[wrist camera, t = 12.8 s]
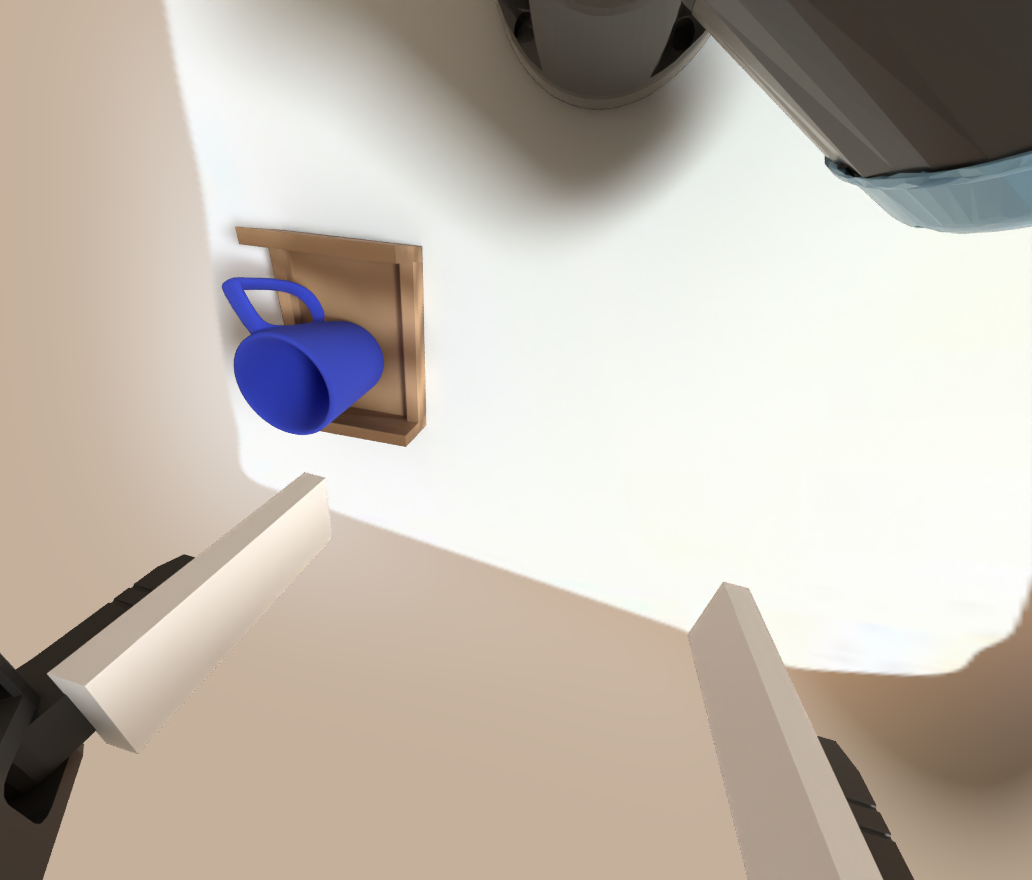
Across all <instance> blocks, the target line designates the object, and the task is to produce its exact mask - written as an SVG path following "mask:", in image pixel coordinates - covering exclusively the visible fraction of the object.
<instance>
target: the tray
mask: <svg viewBox="0 0 1032 880" xmlns="http://www.w3.org/2000/svg"><path fill="white" fill-rule="evenodd" d="M235 228H236V232H237V237H238V241H239V244H243V245H251V246H259V247H267V248H269V251H270V256H271V261H272V266H273V271H274V276H275V279H280V280H286V281H291V282H294V283H297V284H300V285H302V286H304V287H306V288H307V289H308V290H310V291H311V292H312V293H313V294H314V295H315V296H316V298H317V299H318V300H319V302H320V304H321V306H322V308H323V310H324V314H325V317H324V321H346V322H351V323H354V324H357V325H359V326H361V327H363V328H364V329H366V330H367V331H368V332H369V333H370V334H371V335H372V336H373V337H374V338H375V339H376V341H377V342H378V344H379V346H380V348H381V350H382V353H383V358H384V369H383V373H382V376H381V378H380V379H379V381H378V382H377V384H376V385H375V386H374V387H373V388H372V389H370V390H369V391H368V392H367V393H366V394H364V395H363V396H362V397H361V398H360V399H358V400H357V401H356V402H355V403H354V404H352V405H351V406H350V407H349V408H348V409H346V410H345V411H344V412H343V413H342V414H340V415H339V416H338V417H337V418H336V419H334V420H333V421H332V422H331V423H330V424H328V425H327V426H326V427H325V428H323V429H322V430H320V431H322V432H328V433H333V434H339V435H344V436H350V437H355V438H361V439H366V440H372V441H377V442H382V443H388V444H393V445H399V446H404V447H406V446H407V445H408V444H409V443H410V442H411V441H412V440H413V439H414V438H415V437H416V436H417V434H418V433H419V432H420V431H421V430H422V429H423V428H424V427H425V426H426V397H425V352H424V307H423V262H422V246H414V245H406V244H397V243H389V242H380V241H372V240H363V239H355V238H346V237H338V236H329V235H321V234H312V233H304V232H295V231H287V230H275V229H260V228H245V227H235ZM278 296H279V301H280V306H281V311H282V316H283V321H284V325H297V324H305V323H311V322H313V317H312V315H311V312H310V310H309V309H308V307H307V306H306V305H305V303H304V302H303V301H302V300H300V299H299V298H298V297H296V296H294V295H292V294H289V293H286V292H282V291H278Z"/></svg>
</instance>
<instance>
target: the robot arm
mask: <svg viewBox="0 0 1032 880" xmlns="http://www.w3.org/2000/svg"><path fill="white" fill-rule="evenodd" d="M496 3H497V7H498V10H499V13H500V16H501V19H502V21H503V24H504V27H505V29H506V32H507V35H508V37H509V40H510V42H511V44H512V46H513V49H514V51H515V52H516V54H517V56H518V58H519V60H520V61H521V63H522V65H523V66H524V67H525V69H526V70H527V72H528V73H529V74H530V75H531V76H532V78H533V79H534V80H535V81H536V82H537V83H538V84H539V85H540V86H541V87H542V88H543V89H545V90H546V91H547V92H548V93H550V94H551V95H553V96H554V97H556V98H558V99H560V100H561V101H564V102H566V103H568V104H571V105H574V106H577V107H582V108H588V109H609V108H615V107H619V106H623V105H627V104H630V103H632V102H635V101H637V100H639V99H642V98H644V97H646V96H647V95H649V94H651V93H653V92H654V91H656V90H657V89H659V88H660V87H662V86H663V85H664V84H666V83H667V82H668V81H670V80H671V79H672V78H673V77H674V76H675V75H677V74H678V73H679V72H680V71H681V70H682V69H683V68H684V67H685V66H686V65H687V64H688V63H689V62H690V61H691V59H692V58H693V57H694V56H695V55H696V54H697V52H698V51H699V50H700V49H701V47H702V46H703V45H704V43H705V42H706V41H707V39H708V38H709V36H710V35H712V36H713V38H714V39H715V40H716V41H717V42H718V43H719V44H720V45H721V46H722V47H723V48H724V49H725V50H726V51H727V52H728V53H729V54H730V55H731V57H732V58H733V59H734V60H735V61H736V62H737V63H738V64H739V65H740V66H741V67H742V68H743V69H744V70H745V71H746V72H747V73H748V74H749V76H750V77H751V78H752V79H753V80H754V81H755V82H756V83H757V84H758V85H759V86H760V87H761V88H762V89H763V90H764V91H765V92H766V93H767V95H768V96H769V97H770V98H771V99H772V100H773V101H774V102H775V103H776V104H777V105H778V106H779V107H780V108H781V109H782V110H783V111H784V112H785V114H786V115H787V116H788V117H789V118H790V119H791V120H792V121H793V122H794V123H795V124H796V125H797V126H798V127H799V128H800V129H801V130H802V131H803V133H804V134H805V135H806V136H807V137H808V138H809V139H810V140H811V141H812V142H813V143H814V144H815V145H816V146H817V147H818V148H819V149H820V150H821V152H822V153H823V154H824V155H825V165H826V166H827V167H828V168H829V169H830V171H831V172H832V173H833V174H834V175H835V176H837V177H838V178H839V179H841V180H842V181H845V182H848V183H851V184H854V185H857V186H859V187H860V188H861V189H862V190H863V191H864V192H865V193H866V194H867V195H869V196H870V197H871V198H872V199H873V200H874V201H875V202H876V203H877V204H878V205H879V206H881V207H882V208H883V209H884V210H885V211H886V212H887V213H888V214H889V215H891V216H892V217H893V218H895V219H896V220H898V221H900V222H902V223H904V224H906V225H909V226H911V227H916V228H928V229H932V230H936V231H939V232H950V233H957V234H967V233H983V232H997V231H1005V230H1013V229H1019V228H1025V227H1031V226H1032V0H496ZM331 539H332V530H331V521H330V512H329V503H328V494H327V485H326V478H324V477H320V476H317V475H313V474H309V473H305V472H304V473H303V474H302V475H301V476H299V477H298V478H297V479H296V480H294V481H293V482H292V483H290V484H289V485H288V486H287V487H285V488H284V489H283V490H281V491H280V492H279V493H278V494H276V495H275V496H274V497H272V498H271V499H270V500H269V501H267V502H266V503H265V504H264V505H262V506H261V507H260V508H259V509H257V510H256V511H255V512H253V513H252V514H251V515H249V516H248V517H247V518H246V519H244V520H243V521H242V522H241V523H239V524H238V525H237V526H235V527H234V528H233V529H232V530H230V531H229V532H228V533H226V534H225V535H224V536H223V537H221V538H220V539H219V540H218V541H216V542H215V543H214V544H212V545H211V546H210V547H209V548H207V549H206V550H205V551H203V552H202V553H201V554H199V555H198V556H197V557H196V558H195V557H192V556H188V555H182V556H180V557H178V558H175V559H173V560H171V561H169V562H167V563H165V564H163V565H161V566H158V567H157V568H155V569H154V570H153V571H151V572H150V573H149V574H147V575H146V576H144V577H143V578H142V579H140V580H139V581H138V582H136V583H135V584H134V586H133V587H132V588H128V589H127V590H125V591H124V592H123V593H121V594H120V595H118V596H117V597H116V598H114V601H113V602H112V603H108V604H106V605H105V606H103V607H102V608H101V609H99V610H98V611H97V612H95V613H94V614H93V615H91V616H90V617H89V618H87V619H86V620H84V621H83V622H82V623H80V624H79V625H78V626H76V627H75V628H73V629H72V630H71V631H69V632H68V633H67V634H65V635H64V636H63V637H61V638H60V639H58V640H57V641H56V642H54V643H53V644H52V645H50V646H49V647H48V648H46V649H45V650H44V651H42V652H41V653H39V654H38V655H37V656H35V657H34V658H33V659H31V660H30V661H28V662H27V663H25V664H24V665H22V666H20V667H19V668H17V669H16V670H15V669H14V668H13V666H12V665H11V664H10V663H9V662H8V661H7V660H6V659H5V658H4V657H3V656H2V655H1V654H0V880H43V877H44V873H45V871H46V867H47V864H48V861H49V858H50V855H51V852H52V849H53V846H54V843H55V840H56V837H57V834H58V831H59V828H60V824H61V821H62V818H63V815H64V812H65V809H66V806H67V803H68V800H69V797H70V794H71V791H72V788H73V784H74V781H75V778H76V775H77V772H78V769H79V766H80V762H81V760H82V757H83V746H84V744H83V743H84V742H85V740H87V739H88V738H89V737H90V736H91V735H92V734H93V733H94V732H95V731H96V732H97V733H98V734H99V735H100V736H101V737H102V738H103V740H104V741H105V742H106V743H107V744H110V745H113V746H116V747H119V748H122V749H125V750H128V751H131V752H134V753H136V754H139V753H140V752H141V750H142V749H143V748H144V747H145V746H146V745H147V744H148V742H150V740H151V739H152V738H153V737H154V736H155V735H156V733H158V732H159V730H160V729H161V728H162V727H163V726H164V725H165V724H166V723H167V721H168V720H169V719H170V718H171V717H172V716H173V715H174V714H175V713H176V711H177V710H178V709H179V708H180V707H181V706H182V705H183V704H184V703H185V701H186V700H187V699H188V698H189V697H190V696H191V695H192V694H193V692H194V691H195V690H196V689H197V688H198V687H199V686H200V685H201V684H202V682H203V681H204V680H205V679H206V678H207V677H208V676H209V674H210V673H211V672H212V671H213V670H214V669H215V668H216V667H217V666H218V664H219V663H220V662H221V661H222V660H223V659H224V658H225V657H226V656H227V655H228V653H229V652H230V651H231V650H232V649H233V648H234V647H235V646H236V645H237V643H238V642H239V641H240V640H241V639H242V638H243V637H244V636H245V634H246V633H247V632H248V631H249V630H250V629H251V628H252V627H253V626H254V624H255V623H256V622H257V621H258V620H259V619H260V618H261V617H262V615H263V614H264V613H265V612H266V611H267V610H268V609H269V608H270V607H271V605H272V604H273V603H274V602H275V601H276V600H277V599H278V598H279V597H280V595H281V594H282V593H283V592H284V591H285V590H286V589H287V587H289V585H290V584H291V583H292V582H293V581H294V580H295V579H296V577H297V576H298V575H299V574H300V573H301V572H302V571H303V570H304V569H305V568H306V566H307V565H308V564H309V563H310V562H311V561H312V560H313V558H315V556H316V555H317V554H318V553H319V552H320V551H321V550H322V549H323V547H324V546H325V545H326V544H327V543H328V542H329V541H330V540H331ZM687 636H688V639H689V643H690V648H691V652H692V655H693V660H694V664H695V668H696V672H697V676H698V680H699V684H700V688H701V692H702V696H703V700H704V704H705V708H706V712H707V716H708V720H709V724H710V729H711V733H712V737H713V741H714V745H715V749H716V753H717V756H718V761H719V765H720V769H721V773H722V777H723V781H724V785H725V789H726V793H727V797H728V801H729V805H730V809H731V813H732V817H733V822H734V825H735V830H736V834H737V837H738V842H739V846H740V850H741V854H742V858H743V862H744V866H745V870H746V874H747V878H748V880H914V879H913V876H912V875H911V873H910V871H909V869H908V867H907V865H906V863H905V861H904V859H903V857H902V855H901V853H900V851H899V849H898V847H897V845H896V843H895V842H893V841H892V840H891V837H890V835H891V833H890V831H889V829H888V827H887V826H886V824H885V822H884V820H883V818H882V816H881V814H880V812H877V810H876V804H875V802H874V800H873V798H872V796H871V794H870V792H869V790H868V788H867V786H866V784H865V783H864V780H863V779H862V777H861V775H860V773H859V771H858V770H857V769H856V767H855V766H854V765H853V764H852V762H851V761H850V759H849V758H848V757H847V755H846V754H845V753H844V752H843V750H842V749H841V748H840V747H839V745H838V744H837V743H836V741H833V740H830V739H826V738H823V737H819V736H817V735H816V733H815V731H814V729H813V727H812V724H811V722H810V720H809V718H808V716H807V714H806V711H805V709H804V707H803V705H802V703H801V701H800V698H799V696H798V694H797V692H796V690H795V688H794V685H793V683H792V681H791V679H790V677H789V675H788V673H787V670H786V668H785V666H784V664H783V662H782V659H781V657H780V655H779V653H778V651H777V649H776V646H775V644H774V642H773V640H772V638H771V636H770V633H769V631H768V629H767V627H766V625H765V623H764V620H763V618H762V616H761V614H760V612H759V610H758V607H757V605H756V603H755V601H754V599H753V597H752V594H751V592H750V590H749V588H745V587H741V586H738V585H734V584H730V583H726V582H723V583H722V584H721V586H720V587H719V589H718V590H717V592H716V593H715V595H714V596H713V598H712V599H711V601H710V602H709V604H708V605H707V607H706V608H705V610H704V611H703V613H702V614H701V616H700V617H699V619H698V620H697V622H696V623H695V625H694V626H693V628H692V629H691V631H690V632H689V634H688V635H687Z"/></svg>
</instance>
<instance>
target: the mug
mask: <svg viewBox="0 0 1032 880" xmlns="http://www.w3.org/2000/svg"><path fill="white" fill-rule="evenodd" d="M222 289H223V292H224V294H225V296H226V297H227V299H228V301H229V303H230V304H231V306H232V308H233V309H234V311H235V312H236V314H237V315H238V317H239V319H240V320H241V322H242V323H243V324H244V326H245V327H246V328H247V329H248V331H249V332H250V334H251V335H250V336H248V337H247V338H245V339H244V340H243V341H242V342H241V343H240V345H239V346H238V348H237V350H236V353H235V357H234V373H235V377H236V381H237V384H238V386H239V389H240V391H241V393H242V395H243V396H244V398H245V400H246V401H247V402H248V404H249V405H250V406H251V408H252V409H253V410H254V411H255V412H256V413H257V414H258V415H259V416H260V417H261V418H262V419H264V420H265V421H266V422H268V423H269V424H271V425H272V426H274V427H276V428H278V429H280V430H282V431H285V432H288V433H292V434H297V435H308V434H313V433H316V432H318V431H320V430H322V429H323V428H325V427H326V426H327V425H328V424H330V423H331V422H332V421H333V420H334V419H336V418H337V417H338V416H339V415H340V414H342V413H343V412H344V411H345V410H346V409H348V408H349V407H350V406H351V405H352V404H354V403H355V402H356V401H357V400H358V399H360V398H361V397H362V396H363V395H364V394H366V393H367V392H368V391H369V390H370V389H372V388H373V387H374V386H375V385H376V384H377V382H378V381H379V379H380V378H381V376H382V373H383V369H384V358H383V353H382V350H381V348H380V346H379V344H378V342H377V341H376V339H375V338H374V337H373V336H372V335H371V334H370V333H369V332H368V331H367V330H366V329H364V328H363V327H361V326H359V325H357V324H354V323H351V322H346V321H324V317H325V314H324V310H323V308H322V306H321V304H320V302H319V300H318V299H317V298H316V296H315V295H314V294H313V293H312V292H311V291H310V290H308V289H307V288H306V287H304V286H302V285H300V284H297V283H294V282H291V281H286V280H280V279H271V278H244V277H237V278H231V279H228V280H227V281H225V282H224V283H223V285H222ZM244 290H275V291H282V292H286V293H289V294H292V295H294V296H296V297H298V298H299V299H300V300H302V301H303V302H304V303H305V305H306V306H307V307H308V309H309V310H310V312H311V315H312V317H313V322H311V323H305V324H297V325H272V324H269V323H267V322H265V321H264V320H263V319H262V318H261V317H260V316H259V315H258V313H257V312H256V310H255V309H254V307H253V306H252V304H251V303H250V301H249V299H248V297H247V296H246V294H245V292H244Z"/></svg>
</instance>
